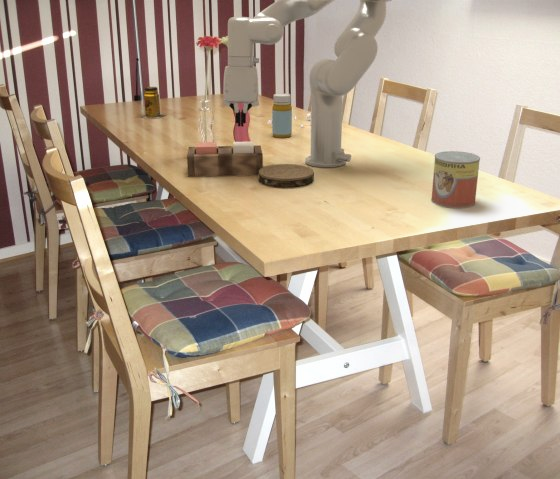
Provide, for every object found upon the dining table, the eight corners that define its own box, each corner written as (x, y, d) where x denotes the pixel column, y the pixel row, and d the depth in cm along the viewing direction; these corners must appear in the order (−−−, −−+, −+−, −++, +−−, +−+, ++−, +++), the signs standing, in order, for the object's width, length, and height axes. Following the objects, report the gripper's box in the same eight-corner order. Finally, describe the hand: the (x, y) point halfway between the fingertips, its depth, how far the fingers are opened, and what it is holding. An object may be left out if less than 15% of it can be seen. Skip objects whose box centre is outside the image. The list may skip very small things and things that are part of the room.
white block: (253, 157, 213) (252, 141, 211) (253, 162, 207) (253, 146, 205) (233, 157, 212) (232, 141, 210) (233, 162, 207) (233, 146, 205)
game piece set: (302, 118, 288) (302, 108, 286) (325, 127, 271) (325, 117, 269) (259, 121, 280) (259, 112, 279) (280, 131, 263) (280, 121, 262)
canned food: (422, 201, 182) (426, 156, 178) (446, 192, 189) (450, 149, 185) (460, 211, 174) (464, 164, 170) (483, 201, 182) (488, 156, 177)
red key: (216, 158, 212) (216, 142, 210) (216, 163, 206) (216, 146, 204) (197, 158, 211) (196, 142, 210) (196, 163, 206) (195, 147, 204)
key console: (260, 164, 217) (260, 145, 214) (262, 174, 205) (262, 155, 203) (189, 165, 215) (188, 146, 213) (188, 176, 204) (187, 156, 202)
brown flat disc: (283, 170, 211) (283, 161, 210) (324, 180, 201) (325, 170, 200) (247, 181, 200) (246, 171, 199) (289, 192, 190) (289, 182, 189)
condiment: (141, 117, 286) (139, 88, 282) (151, 114, 294) (149, 85, 290) (157, 118, 284) (155, 89, 280) (167, 115, 292) (165, 86, 287)
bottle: (292, 134, 257) (292, 93, 251) (290, 138, 250) (290, 96, 245) (273, 133, 257) (273, 93, 252) (271, 138, 251) (271, 96, 245)
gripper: (266, 61, 203) (265, 123, 210) (214, 60, 202) (215, 123, 208) (267, 64, 196) (266, 128, 203) (214, 63, 195) (215, 128, 201)
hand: (240, 125), depth 206 cm, fingers closed
